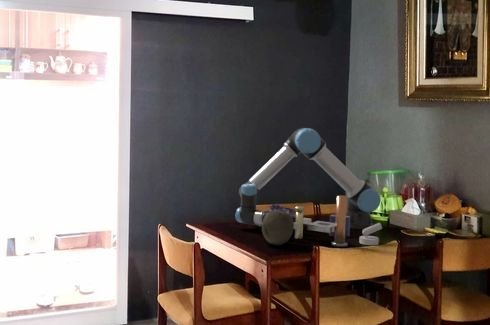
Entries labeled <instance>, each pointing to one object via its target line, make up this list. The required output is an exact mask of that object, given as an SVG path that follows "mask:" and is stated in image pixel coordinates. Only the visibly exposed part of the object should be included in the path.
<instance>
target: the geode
mask: <svg viewBox="0 0 490 325" xmlns="http://www.w3.org/2000/svg"><path fill="white" fill-rule="evenodd" d="M268 211H283V212H286V213H288V214H289V215H290V216H296V210H295V208H290V207H285V206H282V205H280V204H279V203H278V202H276V204H274V203H272V204H271V205H269V209H268Z"/></svg>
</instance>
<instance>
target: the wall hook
mask: <svg viewBox="0 0 490 325" xmlns="http://www.w3.org/2000/svg"><path fill="white" fill-rule="evenodd" d="M382 229H383V226H382V224H381V223H380V222H377V223H375V224H372V226H370V227H368V228H365V229H362V235H361V236H359V239H358V240H359V241H358V242H359V243H360V244H361V245H366V246H378V245H379V244H380V241H379V240H380V238H379V237H378V236H373V235H371V234H374V233H375V232H377V231H380V230H382Z"/></svg>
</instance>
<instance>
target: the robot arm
mask: <svg viewBox="0 0 490 325" xmlns="http://www.w3.org/2000/svg"><path fill="white" fill-rule="evenodd" d="M300 154H303V155H304V156H305V157H306V159H308V160H313V161H314V162H315V163H316V164H317V165H318V166H319V167H320V168H322V169H323V170H324V171H325V172H326V173H327V175H328V176H330V177H331V179H333V180H334V181H335V182H336V183H337V185H339V186H340V188H342V189H343V190H344V191H345V192H346V194H347V202H346V216H349V217H350V229H355V230H357V229H358V230H364V229H365V228H368V227H370V226H372V225H373V221H372V217H371V216H372V215H371V213H372V212H374V211H376V210H377V209H379V207H380V205H381V200H382V199H381V195H380V193H379V192H378V191H377V190H376V189H374V188H372V186H371V185H372V184H371V183H369V182H366V181H365V180H363V179H362V180H360V179H359V178H358V177H357V176H356V175H355V174H354V173H352V172H351V170H350V169H348V167H347V166H346V165H345V164H344V163H343V162H341V160H340V159H338V158H337V157H336V155H334V154H333V153H332V151H330V149H328V148H327V143H326V141H325V140H324V139H323V138H322V137H321V136H320V134H319V133H318V132H317V131H316V130H315V129H313V128H309V127H307V128H306V127H300V128H298V129H296V130H295V131H294V132H292V134H291V135H290V136H289V137H288V138H287V140H286V141H285V142H284V143H283V146H282V147H281V148H280V149H279V150H278V151H277V152H276V153H275V154H274V155H273V156H272V157H271V158H270V159H269V160H268V161H267V162H266V163H264V165H263V166H261V168H260V169H258V170H257V172H255V173H254V174H253V175H252V176H251V178H249V179H248V180H247V181H246V182H245V183H243V184H242V185H241V186H240V187H239V189H238V195H239V197H240V207H238V208H236V212H235V214H234V215H235V220H236V221H237V222H238V223H242V224H247V225H254V226H255V225H256V226H258V227H262V222H263V219H264V217H265V216H266V215H267V214H268V213H269V212H271V211H269V210H265V209H257V195H258V194H257V193H258V192H259V191H260V190H262V188H263V187H264V186H266V184H267V183H269V181H271V179H273V177H275V176H276V175H277V174H278V173H279V172H280V171H281V170H282V169H283V168H284V167H285V166H286V165H287V164H288V163H289V162H290V161H291V160H292V159H293V158H294V157H298V156H299V155H300ZM291 218H292V219H293V222H294V228H293V230H295V229H298V223H296V216H291ZM310 223H312V218H309V217H308V218H307V217H303V225H308V224H310Z"/></svg>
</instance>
